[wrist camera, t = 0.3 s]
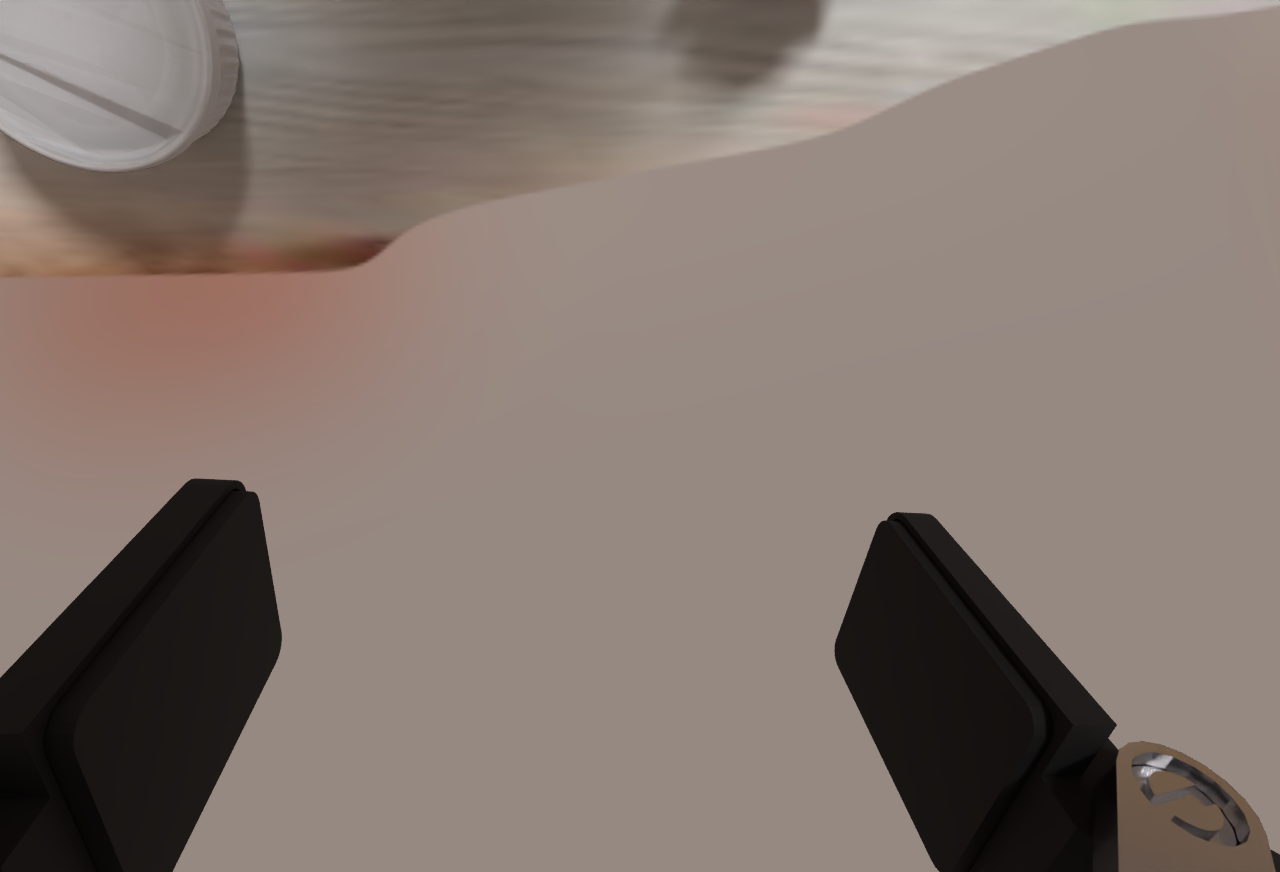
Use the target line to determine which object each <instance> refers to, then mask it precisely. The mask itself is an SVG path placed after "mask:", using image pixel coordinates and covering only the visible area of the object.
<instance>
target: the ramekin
mask: <svg viewBox="0 0 1280 872" xmlns="http://www.w3.org/2000/svg"><path fill="white" fill-rule="evenodd" d="M238 68H239V60H238V46H237V43H236V39H235V32H234V29H233V27H232V24H231V20H230V16H229V14H228V12H227V10H226V8H225V5H224V2H223V0H0V131H1V132H3V133H4V134H6V135H7V136H9V137H10V138H12V139H13V140H15V141H16V142H18V143H20V144H21V145H23V146H25V147H27V148H28V149H30V150H32V151H34V152H36V153H38V154H40V155H43V156H45V157H47V158H49V159H52V160H54V161H57V162H59V163H62V164H65V165H69V166H72V167H76V168H80V169H84V170H89V171H96V172H130V171H137V170H142V169H146V168H151V167H154V166H157V165H160V164H162V163H165V162H167V161H169V160H171V159H173V158H175V157H176V156H178V155H179V154H181V153H182V152H183V151H185V150H186V149H187V148H188V147H189V146H190V145H191V144H192V143H193V142H194V141H196V140H197V139H199V138H200V137H202V136H204V135H206V134H207V133H209V132H210V130H211V129H212V128H213V127H215V126H216V125H217V124H218V123H219V121H220V119H221V118H222V117H223V116H224V115H225V113H226V111H227V109H228V108H229V106H230V104H231V101H232V97H233V96H234V94H235V90H236V82H237V80H238Z"/></svg>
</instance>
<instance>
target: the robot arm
mask: <svg viewBox="0 0 1280 872" xmlns="http://www.w3.org/2000/svg"><path fill="white" fill-rule="evenodd" d="M281 641H282V634H281V627H280V621H279V615H278V609H277V604H276V597H275V591H274V586H273V580H272V574H271V568H270V562H269V556H268V550H267V544H266V538H265V532H264V527H263V520H262V514H261V508H260V502H259V499H258V496H257V494H256V493H255V492H248V491H246V490H245V487H244V485H243V484H242V483H241V482H239V481H236V480H214V479H191V480H190V481H188V482H187V483H185V485H184V486H183V487H182V488H181V489H180V490H179V491H178V492H177V493H176V494H175V495H174V496H173V497H172V498H171V499H170V500H169V501H168V502H167V504H165V505H164V507H163V508H162V509H161V510H160V511H159V512H158V513H157V514H156V515H155V516H154V517H153V518H152V519H151V520H150V521H149V522H148V523H147V524H146V526H145V527H144V528H143V529H142V530H141V531H140V532H139V533H138V534H137V535H136V536H135V537H134V538H133V539H132V540H131V541H130V542H129V543H128V544H127V545H126V546H125V548H124V549H123V550H122V551H121V552H120V553H119V554H118V555H117V556H116V557H115V558H114V559H113V560H112V561H111V562H110V563H109V565H107V567H106V568H105V569H104V570H103V571H102V572H101V573H100V574H99V575H98V576H97V577H96V578H95V579H94V580H93V581H92V582H91V583H90V584H89V585H88V586H87V587H86V588H85V589H84V590H83V592H82V593H81V594H80V595H79V596H78V597H77V598H76V599H75V600H74V601H73V602H72V603H71V604H70V605H69V606H68V607H67V608H66V609H65V610H64V611H63V613H62V614H61V615H60V616H59V617H58V618H57V619H56V620H55V621H54V622H53V623H52V624H51V625H50V626H49V627H48V628H47V629H46V630H45V631H44V633H43V634H42V635H41V636H40V637H39V638H38V639H37V640H36V641H35V642H34V643H33V644H32V645H31V646H30V647H29V648H28V649H27V650H26V651H25V652H24V654H23V655H22V656H21V657H20V658H19V659H18V660H17V661H16V662H15V663H14V664H13V665H12V666H11V667H10V668H9V669H8V670H7V671H6V673H4V675H3V676H2V677H1V678H0V872H173V869H174V867H175V865H176V863H177V861H178V859H179V857H180V855H181V853H182V851H183V849H184V847H185V845H186V843H187V841H188V839H189V837H190V835H191V833H192V831H193V829H194V827H195V825H196V823H197V821H198V819H199V817H200V815H201V813H202V811H203V809H204V807H205V805H206V803H207V801H208V799H209V797H210V795H211V793H212V791H213V789H214V787H215V785H216V782H217V781H218V778H219V777H220V775H221V773H222V771H223V768H224V767H225V764H226V762H227V760H228V758H229V756H230V754H231V752H232V750H233V748H234V746H235V744H236V742H237V740H238V738H239V736H240V734H241V732H242V730H243V728H244V726H245V724H246V722H247V720H248V718H249V716H250V714H251V712H252V710H253V708H254V706H255V704H256V702H257V699H258V698H259V696H260V694H261V692H262V690H263V688H264V686H265V684H266V682H267V680H268V678H269V676H270V674H271V672H272V669H273V668H274V666H275V664H276V661H277V659H278V656H279V653H280V649H281ZM835 659H836V662H837V665H838V667H839V670H840V672H841V674H842V676H843V678H844V680H845V682H846V684H847V686H848V688H849V690H850V692H851V694H852V696H853V699H854V701H855V703H856V705H857V707H858V709H859V711H860V713H861V715H862V717H863V719H864V721H865V723H866V725H867V728H868V729H869V732H870V734H871V736H872V738H873V740H874V742H875V744H876V746H877V748H878V750H879V752H880V755H881V757H882V758H883V761H884V763H885V765H886V767H887V769H888V771H889V773H890V775H891V777H892V779H893V782H894V784H895V786H896V788H897V790H898V792H899V794H900V796H901V798H902V800H903V802H904V804H905V806H906V809H907V811H908V813H909V814H910V817H911V819H912V821H913V823H914V825H915V827H916V829H917V831H918V833H919V835H920V838H921V839H922V842H923V844H924V846H925V848H926V850H927V852H928V854H929V856H930V858H931V860H932V862H933V864H934V865H935V867H936V868H937V869H938V870H939V872H1280V855H1279V854H1278V853H1276V852H1274V851H1272V850H1270V847H1269V842H1268V838H1267V835H1266V832H1265V830H1264V828H1263V826H1262V823H1261V822H1260V819H1259V817H1258V816H1257V815H1256V813H1255V812H1254V811H1253V809H1252V808H1251V806H1250V805H1249V804H1248V803H1247V801H1246V800H1245V799H1244V798H1243V797H1242V796H1241V795H1240V794H1239V793H1238V792H1237V791H1236V790H1235V789H1234V788H1233V787H1232V786H1231V785H1230V784H1229V783H1228V782H1227V781H1225V780H1224V779H1223V778H1221V777H1220V776H1219V775H1217V774H1216V773H1215V772H1213V771H1212V770H1211V769H1209V768H1208V767H1206V766H1205V765H1203V764H1202V763H1200V762H1198V761H1196V760H1194V759H1193V758H1191V757H1189V756H1187V755H1186V754H1184V753H1182V752H1179V751H1177V750H1174V749H1171V748H1169V747H1166V746H1164V745H1161V744H1156V743H1151V742H1145V741H1139V742H1130V743H1127V744H1126V745H1125V746H1123V747H1122V748H1120V749H1119V750H1118V749H1117V748H1116V747H1115V746H1114V744H1113V743H1112V742H1111V741H1110V740H1109V739H1108V737H1109V736H1110V734H1111V733H1112V731H1113V730H1114V729H1115V727H1116V726H1117V725H1116V723H1115V722H1114V721H1113V720H1112V719H1111V718H1110V717H1109V715H1108V714H1107V713H1106V712H1105V711H1104V710H1103V709H1102V708H1101V706H1100V705H1099V704H1098V703H1097V702H1096V701H1095V699H1094V698H1093V697H1092V696H1091V695H1090V694H1089V693H1088V691H1087V690H1086V689H1085V688H1084V687H1083V686H1082V685H1081V683H1080V682H1079V681H1078V680H1077V679H1076V678H1075V677H1074V675H1072V673H1071V672H1070V671H1069V670H1068V669H1067V668H1066V666H1065V665H1064V664H1063V663H1062V662H1061V661H1060V660H1059V659H1058V657H1057V656H1056V655H1055V654H1054V653H1053V652H1052V651H1051V649H1050V648H1049V647H1048V646H1047V645H1046V644H1045V642H1044V641H1043V640H1042V639H1041V638H1040V637H1039V636H1038V635H1037V634H1036V632H1035V631H1034V630H1033V629H1032V628H1031V626H1030V625H1029V624H1028V623H1027V622H1026V621H1025V620H1024V618H1022V616H1021V615H1020V614H1019V613H1018V612H1017V611H1016V609H1015V608H1014V607H1013V606H1012V605H1011V604H1010V603H1009V601H1008V600H1007V599H1006V598H1005V597H1004V596H1003V595H1002V593H1001V592H1000V591H999V590H998V589H997V588H996V587H995V585H994V584H993V583H992V582H991V581H990V580H989V579H988V577H987V576H986V575H985V574H984V573H983V572H982V571H981V569H980V568H979V567H978V566H977V565H976V564H975V563H974V561H973V560H972V559H971V558H970V557H969V556H968V555H967V553H966V552H965V551H964V550H963V549H962V548H961V547H960V545H959V544H958V543H957V542H956V541H955V540H954V539H953V537H952V536H951V535H950V534H949V533H948V532H947V531H946V530H945V528H944V527H943V526H942V525H941V524H940V523H939V521H938V520H937V519H936V518H935V517H933V516H932V515H930V514H922V513H900V512H896V513H893V514H891V515H890V516H889V517H888V519H887V521H882V522H881V523H880V524H879V525H878V527H877V529H876V532H875V534H874V537H873V540H872V542H871V545H870V548H869V551H868V553H867V556H866V559H865V562H864V565H863V567H862V570H861V573H860V575H859V578H858V581H857V584H856V587H855V589H854V592H853V595H852V598H851V600H850V603H849V606H848V609H847V611H846V614H845V617H844V620H843V623H842V625H841V628H840V631H839V633H838V636H837V639H836V642H835Z"/></svg>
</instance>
